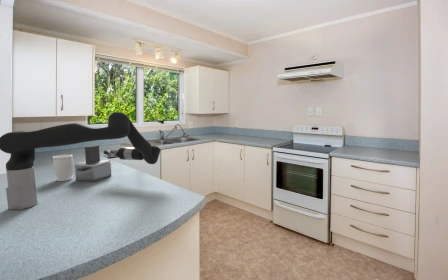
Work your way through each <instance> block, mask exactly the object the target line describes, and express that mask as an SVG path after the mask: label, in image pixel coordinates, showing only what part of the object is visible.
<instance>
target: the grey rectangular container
mask: <svg viewBox="0 0 448 280" xmlns="http://www.w3.org/2000/svg"><path fill="white" fill-rule="evenodd" d="M111 165H112V164H111V162H109V163H105V164H101V165H98V166H94V167H90V166H77V165H74V174H75V181H79V182H80V181H81V182H91V183H96V182H98V181H101V180H104V179H107V178H110V177H112V166H111Z"/></svg>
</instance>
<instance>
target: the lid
mask: <svg viewBox="0 0 448 280" xmlns="http://www.w3.org/2000/svg"><path fill="white" fill-rule="evenodd" d="M100 154H101V153H100V145H98V144H97V145H96V144H95V145H89V146H88V145H87V146H84V158H85V161H84V160H83V161H80V162H77V163H76V162H74V166H76V165H77V166H90V167H94V166H98V165H101V164H105V163H109V162H111V160H108V159H101V155H100Z"/></svg>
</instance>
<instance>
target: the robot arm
mask: <svg viewBox="0 0 448 280" xmlns="http://www.w3.org/2000/svg"><path fill="white" fill-rule="evenodd" d="M107 121H108V122H107V126H105V127H96V128H95V127H91V126H87V125H84V124H82V123H78V122H73V123H66V124H59V125H54V126H49V127H46V128H42V129H39V130H33V131H23V130H19V131H11V132H6V133H4V134H3V135H1V136H0V151H1V152H3V153H6V154H9V155H10V156H9V159H8V161H7V162H6V163H5V171H6V179H7V187H5V192H6V194H5V195H6V200H7V201H6V202H7V208H8V210H13V211H15V210H17V211H20V210H21V211H22V210H23V209H24V210H25V209H29V208H31V207H34V206H36V205H37V204H38V196H37V195H38V194H37V187H36V185H37V184H36V176H35V175H36V174H35V166H34V165H35V164H34V163H35V160H36V149H41V148H54V147H62V146H69V145H70V146H71V145H76V144H82V143H88V142H95V141H103V140H104V141H105V140H106V141H107V140H117V139H123V138H128V140H129V142H130V144H131V145H132V147H131V146H121V147H119V148H118V149H111V150H109V149H108V150H107V149H106V150H103V154H104V155H107V157H109V158H111V157H118V159H120V160H126V161H144V162H146V163H147V164H149V165H155V164H157V162H158V159H159V157H160V154H161V149H160V147H158V146H157V145H151V143H150V142H149V141H148V140H147V139H146V138H144V136H143V135H142V134H141V133H140V132H139V130H138V129H137V128H136V126H135V125H134V124H133V121H132V120H131V119H130V117H129V116H128V115H127V114H126V113H123V112H121V111H114V112H112V113H110V114H109V115H108V119H107Z"/></svg>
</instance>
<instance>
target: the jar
mask: <svg viewBox="0 0 448 280" xmlns="http://www.w3.org/2000/svg"><path fill="white" fill-rule="evenodd" d="M73 155H74V154H69V153H68V154H66V153H65V154H58V155H53V156H52V159H53V162H52V165H53V171H54V174H55V176H56V181H57V182H65V181H70V180H73V179H74V177H73V174H74V170H75V162H74V159H73V157H74V156H73Z"/></svg>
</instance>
